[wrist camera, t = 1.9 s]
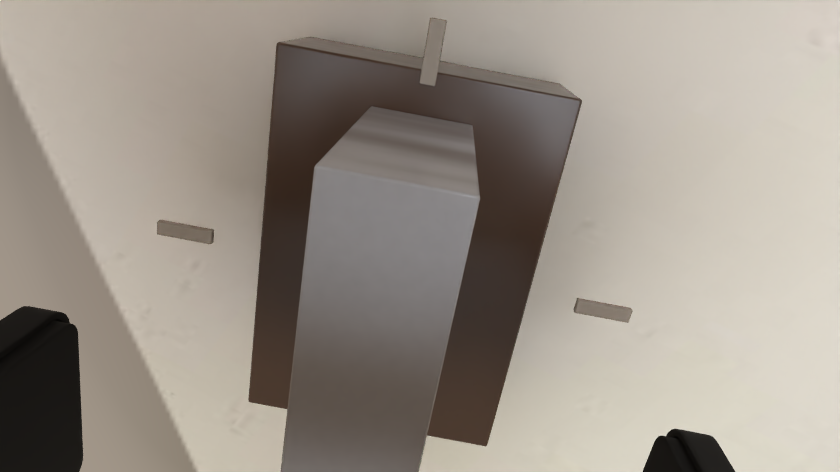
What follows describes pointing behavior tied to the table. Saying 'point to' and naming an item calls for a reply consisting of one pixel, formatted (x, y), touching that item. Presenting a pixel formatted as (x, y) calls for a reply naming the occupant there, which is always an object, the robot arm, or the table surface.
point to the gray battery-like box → (379, 292)
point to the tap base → (494, 225)
